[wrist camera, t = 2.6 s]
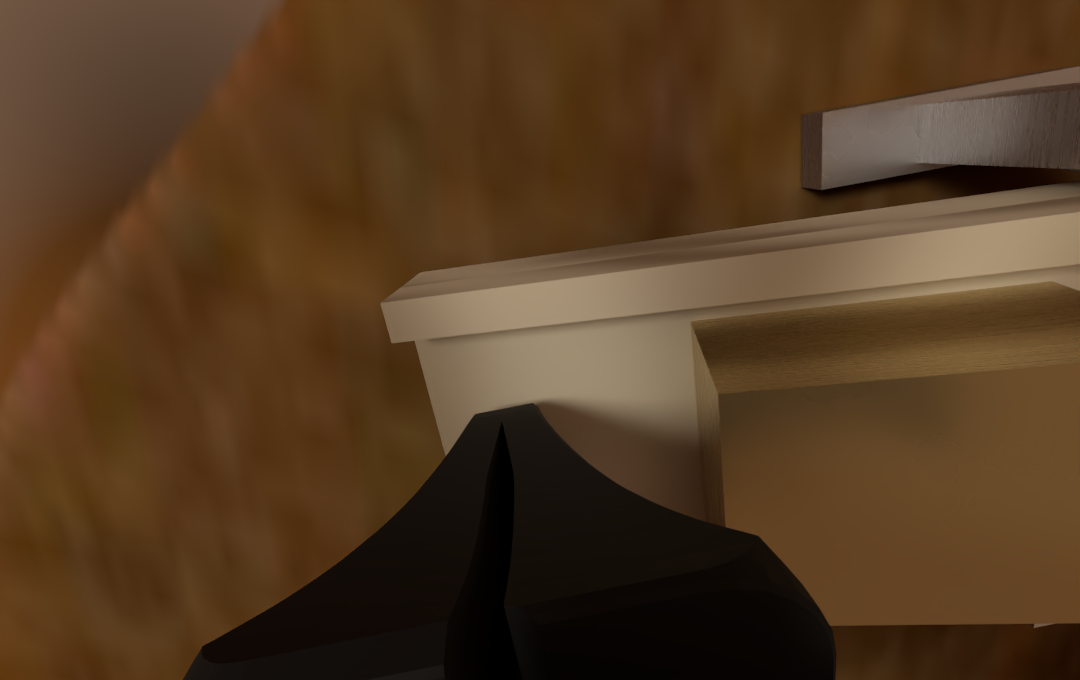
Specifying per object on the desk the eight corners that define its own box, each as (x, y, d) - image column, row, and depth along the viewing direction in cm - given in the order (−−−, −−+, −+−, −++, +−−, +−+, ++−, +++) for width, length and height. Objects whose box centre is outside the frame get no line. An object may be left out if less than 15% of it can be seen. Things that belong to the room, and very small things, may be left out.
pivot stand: (800, 505, 16) (930, 655, 11) (802, 114, 12) (997, 95, 7) (996, 466, 16) (1205, 599, 11) (1057, 69, 12) (1410, 20, 8)
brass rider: (704, 509, 12) (731, 627, 9) (690, 321, 10) (718, 393, 7) (1015, 493, 11) (1155, 622, 8) (1052, 280, 9) (1242, 348, 6)
